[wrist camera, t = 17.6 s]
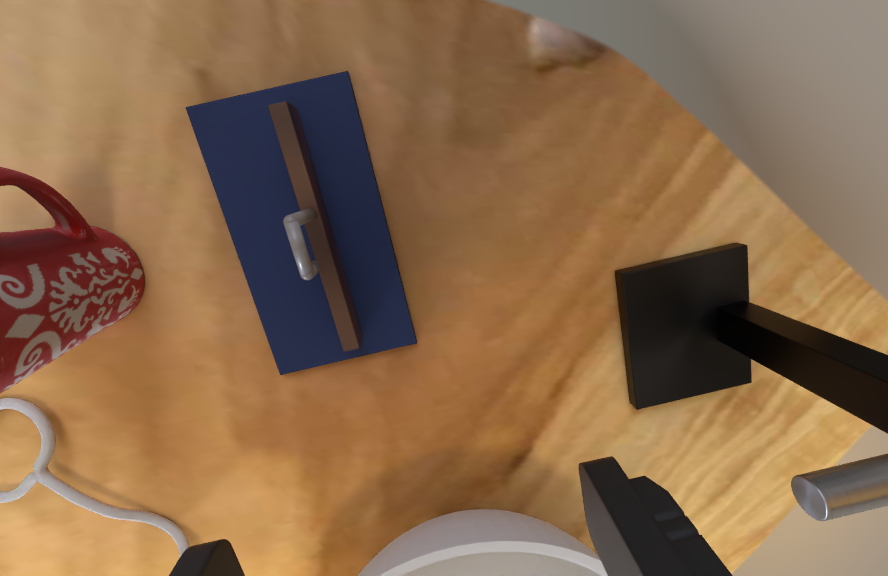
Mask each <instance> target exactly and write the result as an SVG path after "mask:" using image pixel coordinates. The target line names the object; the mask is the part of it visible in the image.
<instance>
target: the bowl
mask: <svg viewBox="0 0 888 576" xmlns="http://www.w3.org/2000/svg"><path fill="white" fill-rule="evenodd" d="M357 576H608V575H607V573H606V571H605V569H604V566H603V564H602V562H601V560H600V558H599V556H598V555H597V554H596V553H595V552H594V551H592V550H591V549H590V548H588V547H587V546H586V545H584V544H583V543H582V542H580V541H579V540H577V539H576V538H574V537H573V536H571V535H570V534H568V533H566V532H565V531H563V530H561V529H559V528H557V527H555V526H554V525H552V524H549V523H547V522H545V521H542V520H540V519H537V518H535V517H531V516H528V515H525V514H521V513H516V512H511V511H506V510H497V509H473V510H464V511H458V512H453V513H449V514H445V515H441V516H439V517H436V518H433V519H430V520H428V521H425V522H423V523H421V524H419V525H417V526H415V527H413V528H412V529H410V530H408V531H406V532H405V533H403V534H402V535H400V536H399V537H397V538H396V539H394V540H393V541H392V542H390V543H389V544H388V545H387V546H386V547H384V548H383V549H382V550H381V551H380V552H379V553H378V554H377V555H376V556H375V557H374V558H373V559H372V560H371V561H370V562H369V563H368V564H367V565H366V566H365V567H364V568H363V569H362V571H361V572H360V573H359V574H358V575H357Z"/></svg>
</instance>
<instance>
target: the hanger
mask: <svg viewBox="0 0 888 576" xmlns="http://www.w3.org/2000/svg"><path fill="white" fill-rule="evenodd" d="M268 108H269V111H270V114H271V117H272V121H273V124H274V127H275V130H276V134H277V137H278V140H279V143H280V147H281V150H282V153H283V156H284V160H285V163H286V166H287V169H288V173H289V176H290V179H291V182H292V185H293V189H294V192H295V195H296V198H297V202H298V205H299V208H300V211H299V212H296V213H293V214H290V215H287V216H286V217H285V218H284V221H283V223H284V226H285V229H286V232H287V236H288V239H289V242H290V245H291V248H292V251H293V254H294V257H295V260H296V264H297V267H298V270H299V273H300V276H301V277H302V278H303V279H304V280H310V279H312V278H313V277H314V276H315V275H316V274H317V273H318V272H319V273H320V276H321V279H322V283H323V286H324V289H325V292H326V296H327V299H328V302H329V305H330V309H331V312H332V315H333V318H334V322H335V325H336V328H337V331H338V335H339V338H340V341H341V344H342V347H343V351H344V352H345V351H350V350H354V349H358V348H360V345H361V342H362V338H363V334H362V330H361V327H360V324H359V320H358V317H357V313H356V310H355V307H354V303H353V300H352V296H351V293H350V289H349V286H348V283H347V279H346V276H345V272H344V269H343V265H342V262H341V259H340V255H339V252H338V248H337V245H336V242H335V238H334V235H333V231H332V228H331V224H330V221H329V218H328V214H327V211H326V207H325V204H324V201H323V197H322V194H321V190H320V187H319V183H318V180H317V177H316V173H315V170H314V166H313V163H312V160H311V156H310V153H309V149H308V146H307V142H306V139H305V136H304V132H303V129H302V125H301V122H300V118H299V115H298V112H297V108H296V107H295V106H294V105H292V104H290V103H288V102H287V101H284V102H280V103H275V104H271V105H268ZM303 224H305V228H306V231H307V234H308V237H309V241H310V244H311V247H312V250H313V254H314V257H315V260H312V261H311V259H310V256H309V253H308V250H307V246H306V243H305V240H304V237H303V234H302V230H301V227H300V226H301V225H303Z"/></svg>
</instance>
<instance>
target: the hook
mask: <svg viewBox="0 0 888 576" xmlns="http://www.w3.org/2000/svg"><path fill="white" fill-rule="evenodd" d="M1 409H14V410H17V411H20V412H22V413H24V414H25V415H27V416H28V417H29V418H30V419H31V420H32V421H33V422H34V423H35V425H36V426H37V428H38V430H39V432H40V435H41V440H42V447H41V451H40V454H39V456H38V458H37V460H36V462H35V464H34V466H33V468H34V471H35V472H34V473H30V474H29V475H27V477H26V478H25V479H24V480H23V481H22V483H21V484H20V485H19V486H18V487H17V488H16V489H14V490H12V491H0V503H3V502H10V501H14V500H16V499H19V498H20V497H22V496H24V495H25V494H26V493H27V492H28V491H29V490H30V489H31V488H32V487H33V486H34V484H35V483H36V482H38V483H41V484H43V485H45V486H46V487H48V488H50V489H51V490H53V491H54V492H56V493H57V494H59V495H61V496H62V497H64V498H65V499H67V500H69V501H71V502H72V503H74V504H76V505H78V506H81V507H83V508H85V509H87V510H90V511H92V512H95V513H97V514H100V515H103V516H106V517H109V518H114V519H121V520H130V521H138V522H143V523H148V524H151V525H153V526H156V527H158V528H160V529H162V530H164V531H165V532H167V533H168V534H169V535H170V536H171V537H172V538H173V539H174V540H175V542H176V544H177V546H178V549H179V554H180V557H181V555H182V554H183V552H184V551H185V550H186V549H187V548H188V547H190V545H189V541H188V539H187V537H186V535H185V533H184V532H183V531H182V529H181V528H180V527H179V526H178V525H176V524H175V523H174V522H172V521H171V520H169V519H167V518H165V517H163V516H160V515H157V514H155V513H151V512H146V511H141V510H133V509H125V508H119V507H115V506H112V505H109V504H106V503H104V502H101V501H99V500H96V499H94V498H92V497H90V496H88V495H85V494H83V493H81V492H80V491H78V490H76V489H75V488H73V487H71V486H70V485H68V484H67V483H65V482H64V481H62V480H60V479H59V478H57V477H56V476H54V475H53V474H52V473H51V472H50V471H49V470H48V468H47V465H48V463H49V461H50V459H51V457H52V454H53V452H54V449H55V444H56V437H55V431H54V428H53V426H52V423H51V421H50V420H49V418H48V417H47V415H46V414H45V413H44V412H43V411H42V410H41V409H39V408H38V407H37V406H35V405H34V404H32V403H30V402H28V401H25V400H22V399H18V398H2V399H0V410H1Z"/></svg>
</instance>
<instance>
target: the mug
mask: <svg viewBox="0 0 888 576" xmlns="http://www.w3.org/2000/svg"><path fill="white" fill-rule="evenodd" d="M5 185H14V186H17V187H19V188H20V189H22V190H24V191H25V192H26V193H28V194H29V195H30V196H32V197H33V198H34V199H35V200H37V201H38V202H39V203H40V204H41V205H42V206H43V207H44V208H45V209H46V210H47V211H48V212H49V213H50V214H51V216H52V217H53V219H54V220H55V227H54V228H45V229H35V230H24V231H16V232H2V233H0V393H2V392H3V391H5V390H7V389H8V388H10V387H11V386H13V385H15V384H17V383H18V382H20V381H21V380H23V379H24V378H26V377H27V376H29V375H31V374H32V373H34V372H35V371H37V370H39V369H40V368H42V367H44V366H45V365H47V364H49V363H50V362H52V361H53V360H55V359H56V358H58V357H60V356H61V355H63V354H64V353H66V352H67V351H69V350H71V349H72V348H74V347H76V346H77V345H79V344H81V343H83V342H84V341H86V340H87V339H88V338H90V337H91V336H93V335H95V334H97V333H98V332H100V331H101V330H103V329H105V328H106V327H108V326H110V325H112V324H113V323H115V322H117V321H118V320H120V319H122V318H124V317H125V316H126V315H127V314H129V313H130V312H131V311H132V310H133V309H134V308H135V307H136V306H137V304H138V303H139V301H140V298H141V296H142V294H143V289H144V277H143V271H142V268H141V265H140V263H139V260H138V259H137V257H136V255H135V254H134V252H133V251H132V250H131V249H130V248H129V246H128V245H127V244H126V243H125V242H123V241H122V240H121V239H120V238H118V237H117V236H115V235H114V234H112V233H110V232H108V231H106V230H104V229H101V228H98V227H93V226H89V225H88V223H87V222H86V220H85V219H84V218H83V217H82V215H81V214H80V213H79V212H78V211H77V210H76V209H75V208H74V206H73V205H72V204H71V203H70V202H69V201H68V200H67V199H65V198H64V197H63V196H62V195H61V194H60V193H58V192H57V191H56V190H55V189H53V188H52V187H50V186H49V185H47V184H46V183H44V182H42V181H41V180H39V179H36V178H34V177H32V176H29V175H27V174H24V173H21V172H18V171H14V170H11V169H7V168H3V167H0V186H5Z"/></svg>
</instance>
